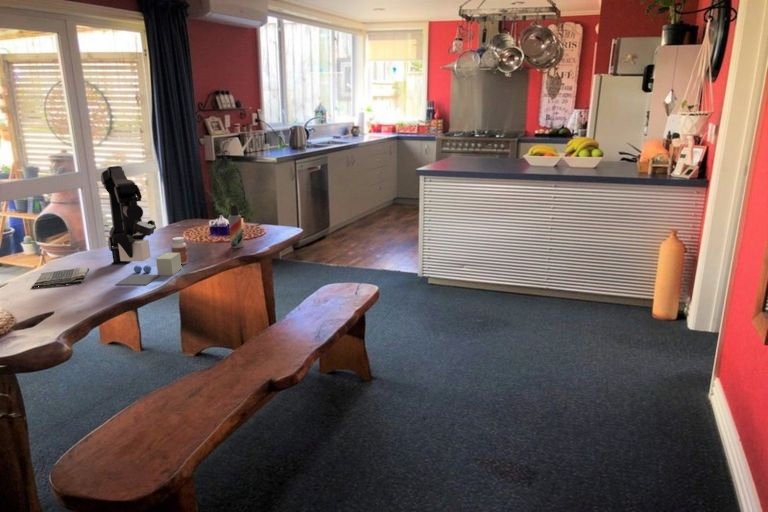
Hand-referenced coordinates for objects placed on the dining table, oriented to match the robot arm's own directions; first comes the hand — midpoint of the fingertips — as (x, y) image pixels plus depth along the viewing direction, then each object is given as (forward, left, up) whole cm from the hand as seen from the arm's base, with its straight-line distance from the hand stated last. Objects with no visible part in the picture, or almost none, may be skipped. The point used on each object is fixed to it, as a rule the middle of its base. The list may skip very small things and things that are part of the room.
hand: (135, 255), depth 216 cm
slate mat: (0, 0, -10) cm, 10 cm away
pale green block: (+8, +11, -10) cm, 17 cm away
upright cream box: (0, 0, -2) cm, 2 cm away
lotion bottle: (+23, +52, -10) cm, 58 cm away
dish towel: (-31, 0, -11) cm, 33 cm away
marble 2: (-1, +10, -10) cm, 14 cm away
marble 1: (-5, +10, -10) cm, 15 cm away
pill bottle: (+7, +24, -10) cm, 27 cm away
